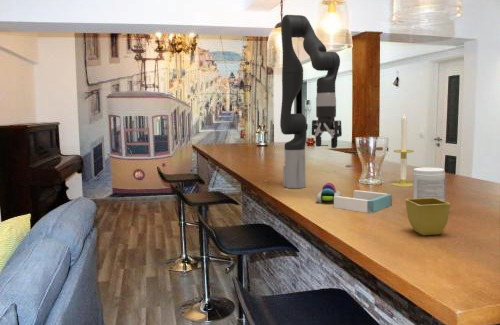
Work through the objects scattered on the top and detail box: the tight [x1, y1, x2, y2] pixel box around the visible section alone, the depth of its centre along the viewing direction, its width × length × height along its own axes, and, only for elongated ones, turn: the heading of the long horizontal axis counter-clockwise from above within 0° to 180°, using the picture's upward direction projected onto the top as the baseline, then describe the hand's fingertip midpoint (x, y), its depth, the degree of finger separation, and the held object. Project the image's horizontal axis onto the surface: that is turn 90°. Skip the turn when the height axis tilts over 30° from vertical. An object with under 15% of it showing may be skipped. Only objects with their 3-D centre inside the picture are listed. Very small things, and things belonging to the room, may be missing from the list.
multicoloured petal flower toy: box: [316, 182, 342, 204], centre depth 163 cm, size 8×10×7 cm
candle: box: [391, 112, 415, 188], centre depth 191 cm, size 10×10×32 cm
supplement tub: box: [412, 167, 446, 202], centre depth 139 cm, size 10×10×15 cm
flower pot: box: [405, 198, 451, 236], centre depth 119 cm, size 9×9×9 cm
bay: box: [333, 189, 393, 214], centre depth 153 cm, size 14×15×4 cm
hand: (326, 147), depth 167 cm, fingers open, 8 cm apart
